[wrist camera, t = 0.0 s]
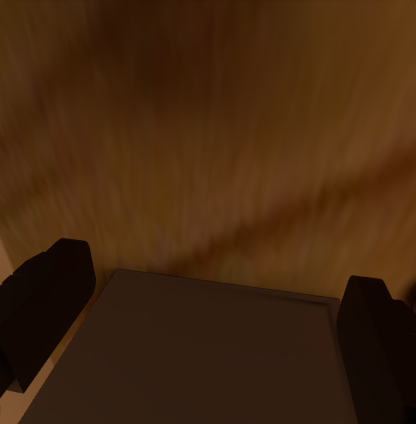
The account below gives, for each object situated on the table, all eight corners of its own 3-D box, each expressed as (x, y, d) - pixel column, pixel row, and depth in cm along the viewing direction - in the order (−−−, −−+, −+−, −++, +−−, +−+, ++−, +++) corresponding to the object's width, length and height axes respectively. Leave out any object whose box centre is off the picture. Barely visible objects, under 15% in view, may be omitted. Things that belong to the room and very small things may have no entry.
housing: (117, 268, 34) (-5, 458, 19) (339, 299, 31) (405, 556, 16) (127, 327, 40) (38, 513, 24) (319, 358, 36) (354, 596, 21)
